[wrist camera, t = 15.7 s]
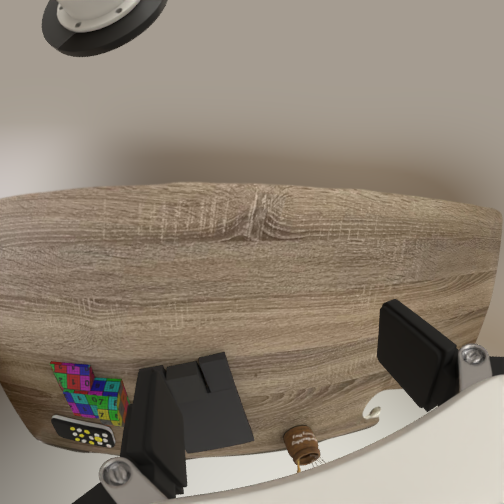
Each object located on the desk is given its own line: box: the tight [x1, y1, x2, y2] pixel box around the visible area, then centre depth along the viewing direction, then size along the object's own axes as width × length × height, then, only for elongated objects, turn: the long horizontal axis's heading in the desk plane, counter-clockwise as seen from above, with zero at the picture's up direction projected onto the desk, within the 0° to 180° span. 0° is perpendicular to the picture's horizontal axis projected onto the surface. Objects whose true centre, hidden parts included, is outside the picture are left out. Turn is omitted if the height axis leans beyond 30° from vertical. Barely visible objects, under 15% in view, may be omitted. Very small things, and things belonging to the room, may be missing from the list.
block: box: [50, 361, 130, 427], centre depth 33 cm, size 12×8×7 cm
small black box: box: [166, 361, 207, 403], centre depth 37 cm, size 5×4×3 cm
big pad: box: [139, 352, 254, 453], centre depth 41 cm, size 22×13×2 cm, turn 11°
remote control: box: [51, 415, 115, 448], centre depth 38 cm, size 6×13×2 cm, turn 82°
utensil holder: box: [284, 426, 320, 473], centre depth 42 cm, size 6×6×12 cm
